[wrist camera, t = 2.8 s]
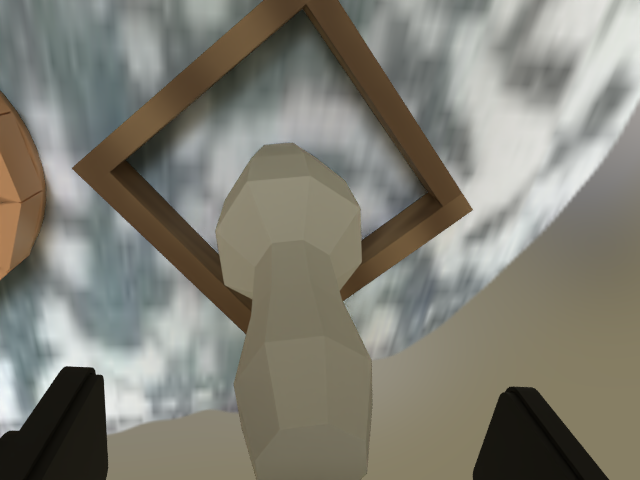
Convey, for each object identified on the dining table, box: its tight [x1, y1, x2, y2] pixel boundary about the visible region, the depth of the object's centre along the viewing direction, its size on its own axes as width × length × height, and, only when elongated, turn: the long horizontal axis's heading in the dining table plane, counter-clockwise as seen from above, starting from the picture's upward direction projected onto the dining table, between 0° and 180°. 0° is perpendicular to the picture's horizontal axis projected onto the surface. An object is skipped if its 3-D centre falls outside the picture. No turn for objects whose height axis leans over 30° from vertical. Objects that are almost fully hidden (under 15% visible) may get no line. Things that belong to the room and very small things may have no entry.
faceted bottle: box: [215, 143, 372, 480], centre depth 19 cm, size 6×6×22 cm
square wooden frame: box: [72, 0, 473, 334], centre depth 27 cm, size 17×17×3 cm
